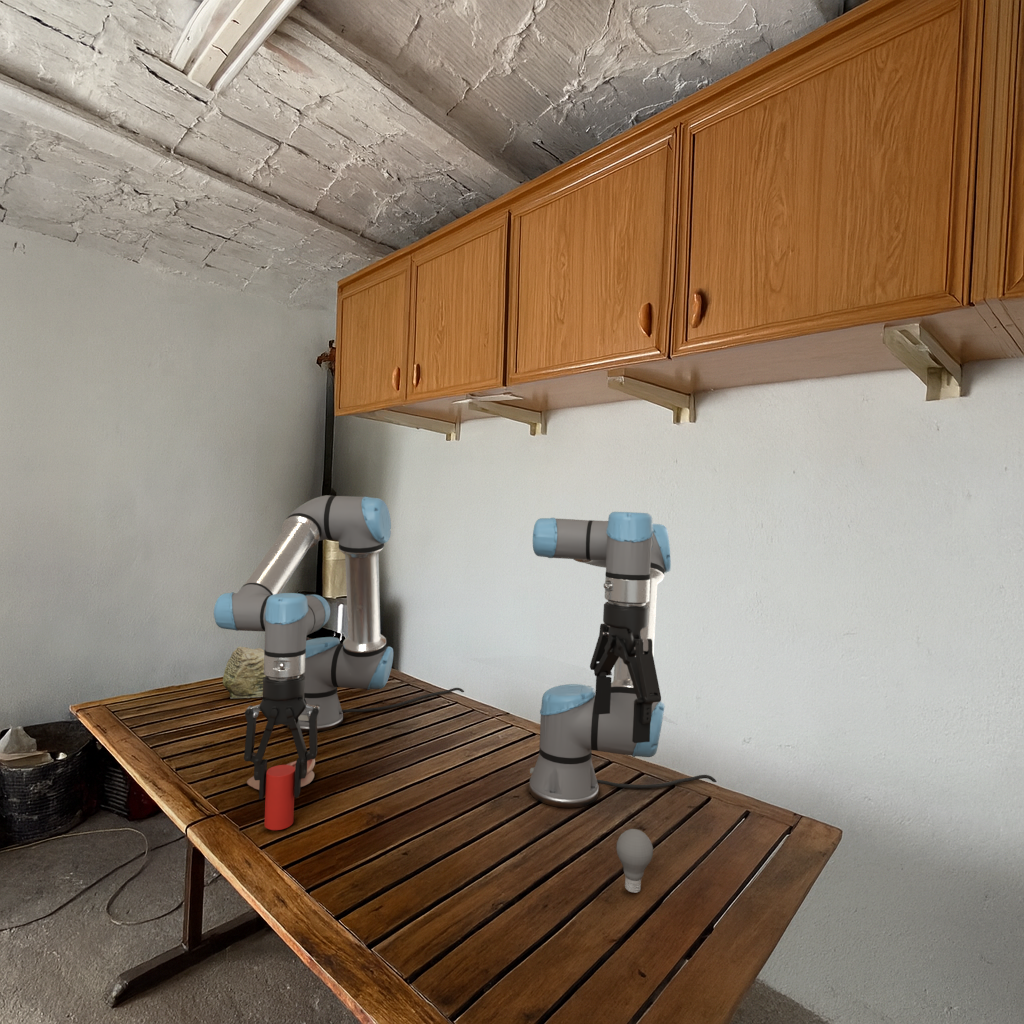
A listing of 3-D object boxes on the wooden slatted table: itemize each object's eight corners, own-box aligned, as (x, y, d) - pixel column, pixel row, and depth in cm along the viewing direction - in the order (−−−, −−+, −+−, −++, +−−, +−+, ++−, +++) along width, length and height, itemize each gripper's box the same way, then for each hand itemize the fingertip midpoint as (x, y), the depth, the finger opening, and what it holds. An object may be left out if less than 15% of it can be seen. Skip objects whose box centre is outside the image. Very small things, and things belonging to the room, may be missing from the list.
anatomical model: (238, 769, 136) (269, 749, 147) (238, 787, 136) (269, 766, 147) (295, 777, 133) (322, 756, 144) (294, 796, 133) (321, 773, 144)
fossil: (218, 695, 195) (220, 647, 195) (278, 685, 208) (279, 640, 207) (228, 703, 189) (230, 653, 188) (289, 692, 201) (290, 645, 201)
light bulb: (610, 879, 108) (613, 822, 108) (644, 879, 109) (647, 822, 109) (619, 902, 102) (622, 840, 102) (655, 901, 103) (658, 840, 103)
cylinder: (283, 832, 119) (285, 778, 118) (258, 827, 120) (260, 774, 120) (298, 818, 124) (300, 766, 123) (274, 814, 125) (276, 763, 125)
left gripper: (227, 681, 116) (222, 806, 116) (333, 680, 119) (328, 802, 120) (237, 670, 123) (233, 788, 124) (336, 669, 127) (332, 784, 127)
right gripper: (575, 591, 118) (570, 704, 118) (645, 616, 94) (638, 757, 95) (611, 591, 121) (606, 702, 121) (688, 616, 97) (681, 753, 97)
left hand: (280, 794), depth 122 cm, fingers open, 6 cm apart
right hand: (620, 726), depth 108 cm, fingers open, 13 cm apart
